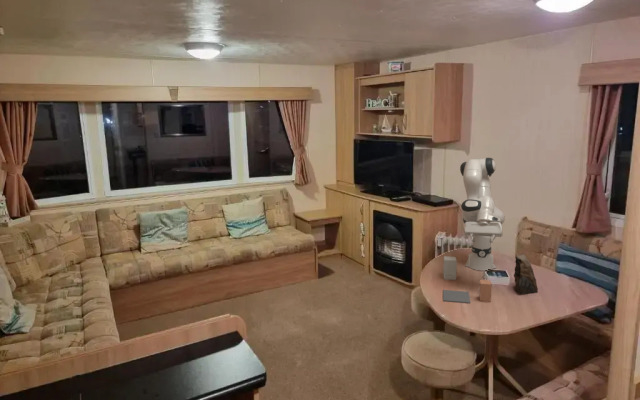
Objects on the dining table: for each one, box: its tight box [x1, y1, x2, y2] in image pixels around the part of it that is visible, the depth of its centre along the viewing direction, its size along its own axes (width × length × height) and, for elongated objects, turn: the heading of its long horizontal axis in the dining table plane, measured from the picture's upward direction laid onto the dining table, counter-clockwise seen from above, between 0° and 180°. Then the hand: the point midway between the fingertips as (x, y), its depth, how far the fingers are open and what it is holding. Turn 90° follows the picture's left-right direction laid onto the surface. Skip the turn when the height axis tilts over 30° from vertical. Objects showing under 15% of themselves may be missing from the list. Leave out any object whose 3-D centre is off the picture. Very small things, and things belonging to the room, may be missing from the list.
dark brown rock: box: [513, 253, 539, 296], centre depth 246 cm, size 13×13×20 cm
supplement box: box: [442, 255, 458, 281], centre depth 267 cm, size 7×7×13 cm
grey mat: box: [442, 289, 471, 304], centre depth 241 cm, size 14×14×1 cm
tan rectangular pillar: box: [478, 279, 493, 303], centre depth 236 cm, size 5×5×10 cm
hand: (482, 241), depth 240 cm, fingers open, 8 cm apart
